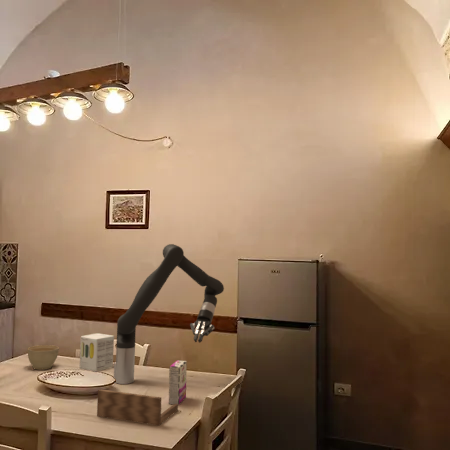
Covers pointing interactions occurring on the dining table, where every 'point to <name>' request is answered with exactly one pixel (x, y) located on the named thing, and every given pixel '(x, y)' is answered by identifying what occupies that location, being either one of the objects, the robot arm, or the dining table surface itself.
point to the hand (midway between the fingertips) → (197, 341)
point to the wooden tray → (132, 407)
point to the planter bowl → (42, 356)
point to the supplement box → (96, 352)
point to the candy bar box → (177, 382)
